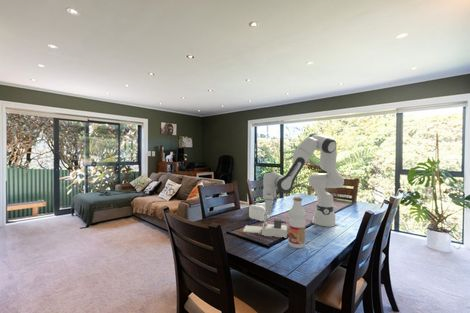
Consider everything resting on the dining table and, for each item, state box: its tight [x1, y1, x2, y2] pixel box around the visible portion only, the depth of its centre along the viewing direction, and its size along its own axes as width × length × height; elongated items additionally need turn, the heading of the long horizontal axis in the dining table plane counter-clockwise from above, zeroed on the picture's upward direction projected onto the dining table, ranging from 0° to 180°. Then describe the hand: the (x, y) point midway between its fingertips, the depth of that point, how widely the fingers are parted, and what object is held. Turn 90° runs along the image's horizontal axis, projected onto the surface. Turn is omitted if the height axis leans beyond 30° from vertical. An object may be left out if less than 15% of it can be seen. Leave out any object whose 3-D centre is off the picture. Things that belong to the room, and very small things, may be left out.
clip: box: [263, 211, 268, 226], centre depth 154 cm, size 2×11×7 cm, turn 166°
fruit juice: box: [287, 196, 306, 249], centre depth 131 cm, size 9×9×28 cm
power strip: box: [261, 223, 288, 239], centre depth 149 cm, size 9×16×6 cm, turn 78°
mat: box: [242, 224, 262, 235], centre depth 156 cm, size 12×12×1 cm
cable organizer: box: [248, 202, 271, 222], centre depth 182 cm, size 15×11×12 cm
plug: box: [273, 217, 287, 228], centre depth 148 cm, size 5×8×8 cm, turn 78°
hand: (269, 213), depth 155 cm, fingers closed, pressing on clip
